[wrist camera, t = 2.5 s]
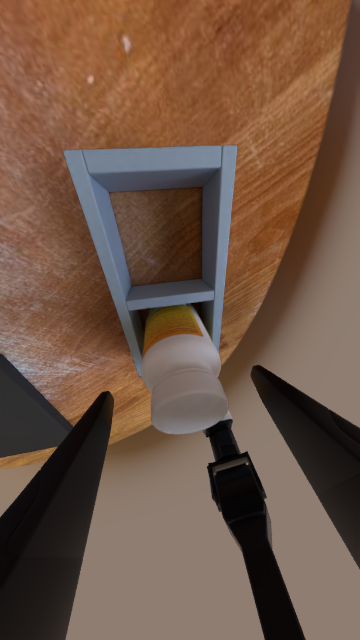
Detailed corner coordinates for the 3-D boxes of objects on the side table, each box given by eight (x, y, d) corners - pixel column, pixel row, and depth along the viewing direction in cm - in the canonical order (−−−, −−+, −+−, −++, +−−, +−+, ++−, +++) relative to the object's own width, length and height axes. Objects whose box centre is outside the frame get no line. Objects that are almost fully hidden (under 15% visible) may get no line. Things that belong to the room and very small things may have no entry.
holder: (207, 342, 18) (217, 364, 15) (142, 352, 17) (139, 377, 14) (213, 171, 10) (238, 143, 7) (91, 177, 9) (61, 149, 6)
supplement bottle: (135, 322, 15) (111, 430, 7) (170, 284, 13) (193, 363, 5) (173, 346, 17) (189, 447, 9) (206, 316, 16) (261, 404, 8)
